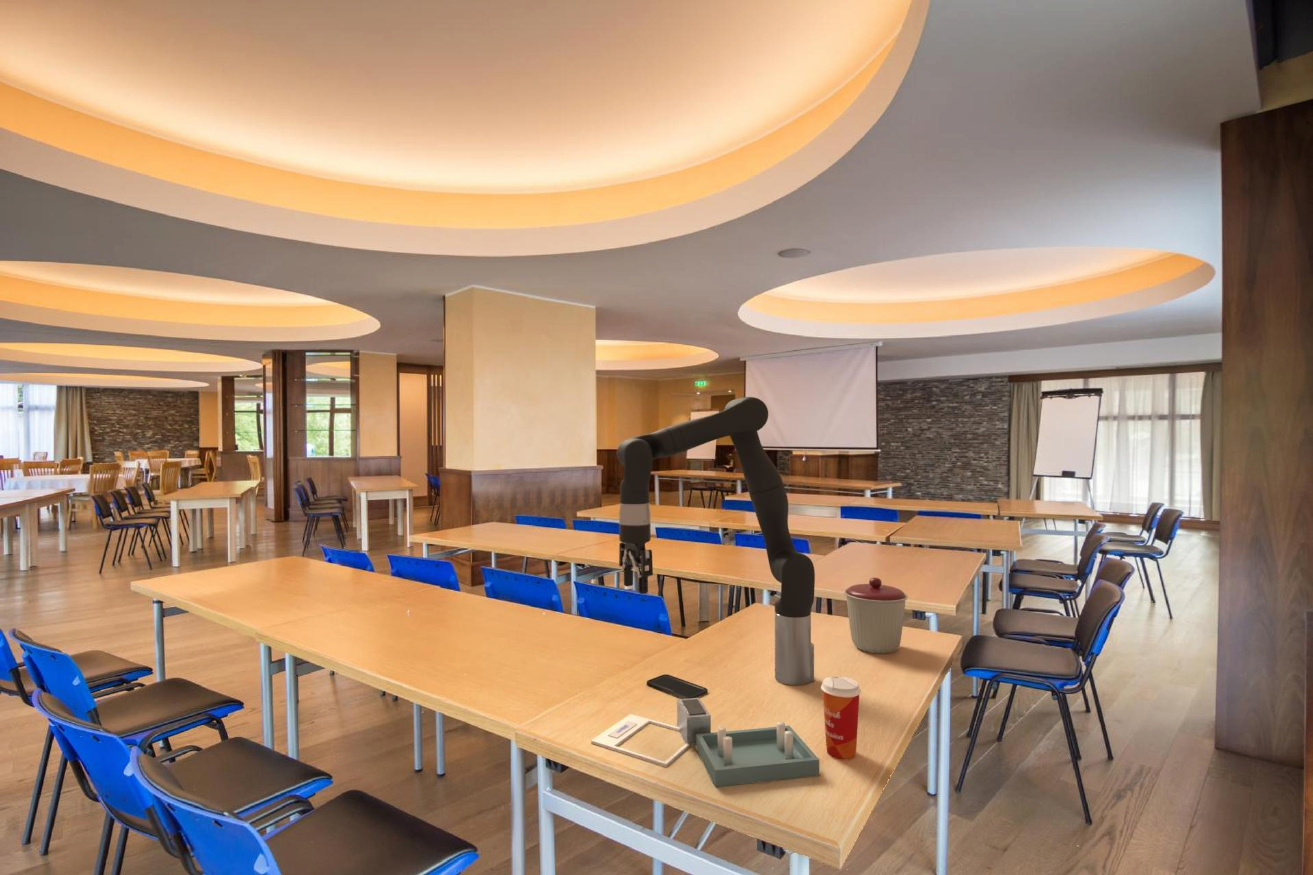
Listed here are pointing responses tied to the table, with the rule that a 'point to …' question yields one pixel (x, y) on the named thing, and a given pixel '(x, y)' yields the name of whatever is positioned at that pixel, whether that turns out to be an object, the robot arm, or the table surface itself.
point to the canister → (875, 616)
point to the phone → (677, 687)
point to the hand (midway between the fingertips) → (635, 589)
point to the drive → (692, 719)
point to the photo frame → (627, 729)
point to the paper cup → (841, 716)
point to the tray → (755, 755)
